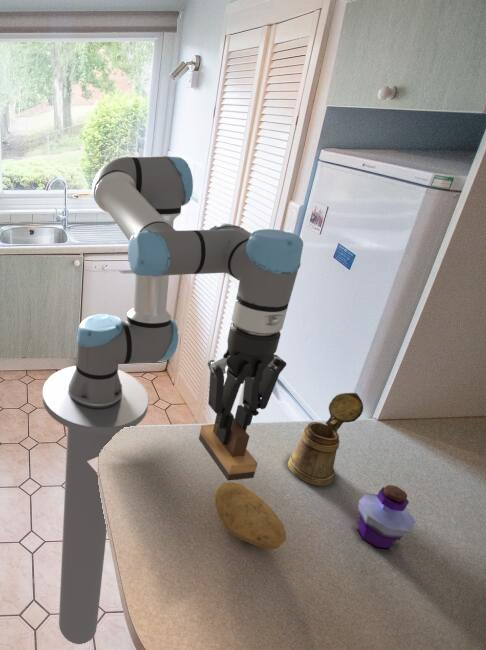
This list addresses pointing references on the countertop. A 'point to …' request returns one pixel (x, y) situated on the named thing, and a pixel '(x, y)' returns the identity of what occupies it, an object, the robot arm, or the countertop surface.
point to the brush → (229, 451)
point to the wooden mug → (324, 441)
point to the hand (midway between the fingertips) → (229, 438)
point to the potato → (249, 516)
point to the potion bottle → (384, 517)
